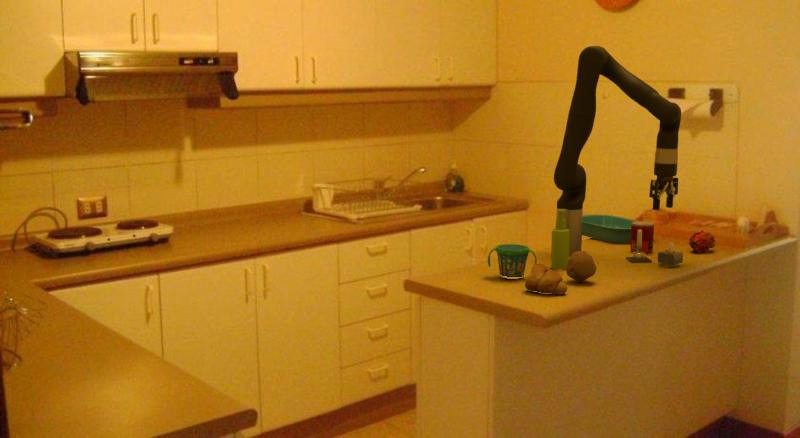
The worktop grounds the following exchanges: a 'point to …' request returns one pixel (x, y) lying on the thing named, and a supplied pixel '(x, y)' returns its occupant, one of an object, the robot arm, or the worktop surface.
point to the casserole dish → (607, 228)
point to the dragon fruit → (702, 241)
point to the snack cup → (512, 259)
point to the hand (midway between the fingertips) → (662, 208)
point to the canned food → (646, 236)
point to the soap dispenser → (560, 243)
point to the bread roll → (545, 280)
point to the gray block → (670, 257)
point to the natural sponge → (580, 266)
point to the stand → (639, 252)
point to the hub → (671, 247)
